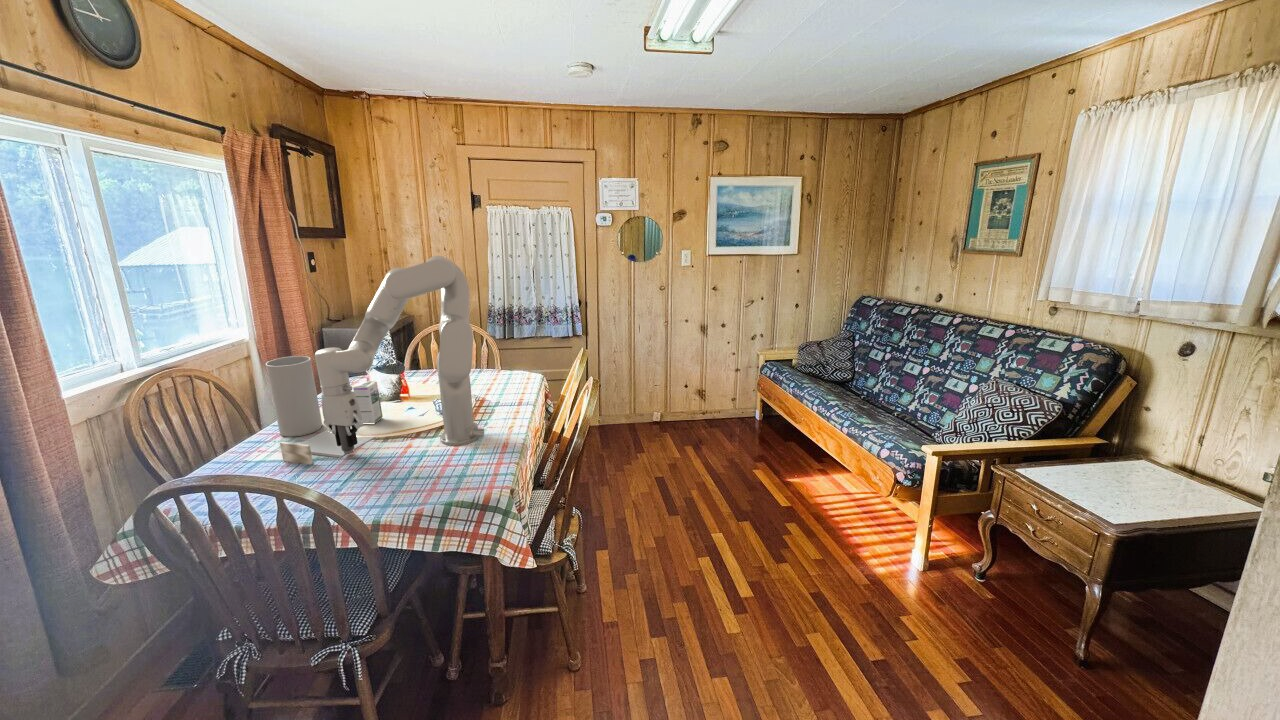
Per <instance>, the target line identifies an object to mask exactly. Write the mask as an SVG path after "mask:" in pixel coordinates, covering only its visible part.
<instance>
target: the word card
mask: <svg viewBox="0 0 1280 720" xmlns="http://www.w3.org/2000/svg"><path fill="white" fill-rule="evenodd" d="M279 445H280V450H281V455H282V461H283V462H288V461H289V463H297V464H303V465H304V464H305V465H312V464H314V463H313V462H314V460H313V457H312V456H313V455H312V454H311V449H310V445H305V444H300V443H295V442H289V441H287V442H286V441H281V442H279Z"/></svg>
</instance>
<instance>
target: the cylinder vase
mask: <svg viewBox="0 0 1280 720" xmlns="http://www.w3.org/2000/svg"><path fill="white" fill-rule="evenodd" d="M265 368H266V372H267V377H268V382H269V383H268V384H269V387H270V391H271V397H272V402H273V406H274V407H273V408H274V411H275V412H274V413H275V416H276V417H275V418H276V420H277V426H278V430H279V431H278V432H279V433H280V435H281V436H284V437H289V438H293V437H295V438H296V437H302V436H306V435H310V434H313V433H315V432H317V431H319V430H320V429H321V428H322V427H323V420H322V414H321V410H320V403H319V399H318V398H319V397H318V393H317V387H316V381H315V376H314V371H313V365H312V360H311V357H310V356H307V355H293V356H291V355H290V356H284V357H283V356H282V357H278V358H275V359H272V360H269V361H266V362H265ZM321 426H322V427H321Z"/></svg>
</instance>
